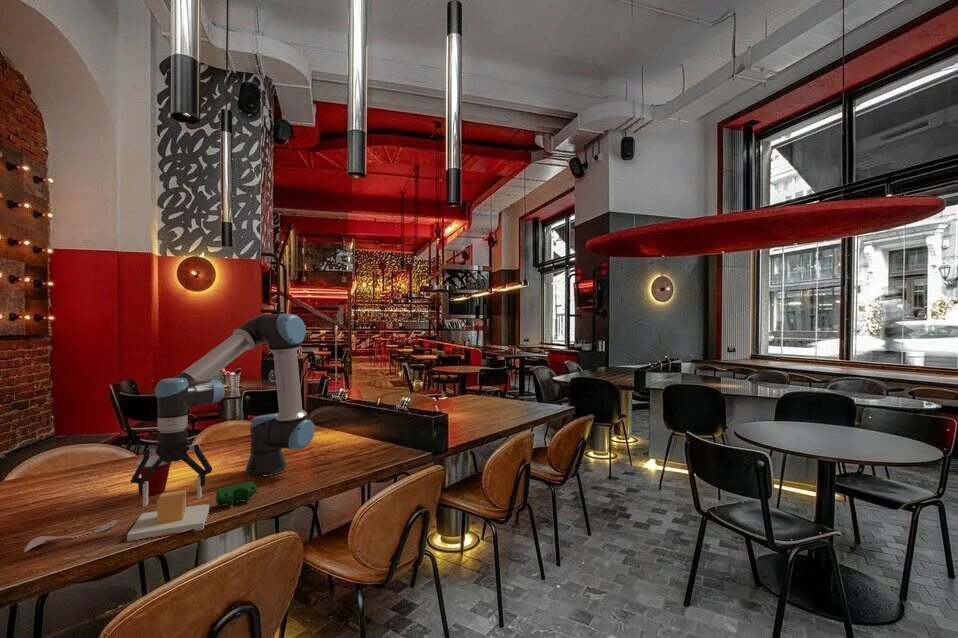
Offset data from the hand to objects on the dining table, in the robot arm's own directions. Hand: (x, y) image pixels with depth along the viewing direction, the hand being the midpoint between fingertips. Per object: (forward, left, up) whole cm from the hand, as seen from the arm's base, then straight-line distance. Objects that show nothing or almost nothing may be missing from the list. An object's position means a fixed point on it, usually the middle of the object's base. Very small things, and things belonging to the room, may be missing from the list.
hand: (173, 501), depth 136 cm
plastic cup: (+11, -34, -7) cm, 36 cm away
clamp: (-16, -10, -7) cm, 21 cm away
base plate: (0, 0, -7) cm, 7 cm away
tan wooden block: (0, 0, -5) cm, 5 cm away
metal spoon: (+24, -1, -8) cm, 25 cm away
